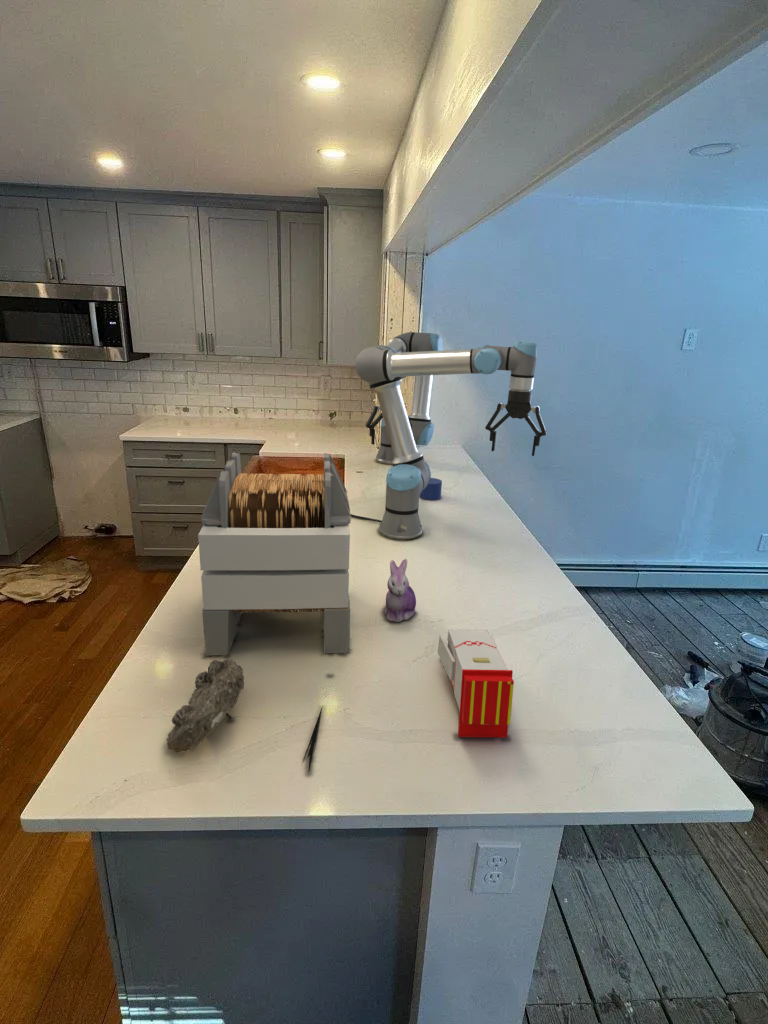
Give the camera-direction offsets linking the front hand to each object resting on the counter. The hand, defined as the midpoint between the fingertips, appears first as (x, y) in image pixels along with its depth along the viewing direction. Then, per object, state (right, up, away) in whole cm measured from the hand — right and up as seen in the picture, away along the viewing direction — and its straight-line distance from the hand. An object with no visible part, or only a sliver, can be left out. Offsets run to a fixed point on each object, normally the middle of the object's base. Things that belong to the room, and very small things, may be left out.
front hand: (512, 452), depth 194 cm
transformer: (-70, -47, -51) cm, 99 cm away
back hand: (-42, +9, +52) cm, 68 cm away
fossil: (-77, -59, -86) cm, 130 cm away
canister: (-25, -14, +47) cm, 55 cm away
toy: (-26, -58, -76) cm, 99 cm away
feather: (-57, -60, -86) cm, 119 cm away
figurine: (-40, -47, -47) cm, 78 cm away
